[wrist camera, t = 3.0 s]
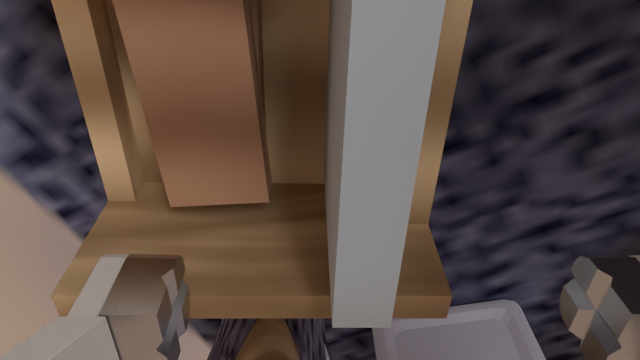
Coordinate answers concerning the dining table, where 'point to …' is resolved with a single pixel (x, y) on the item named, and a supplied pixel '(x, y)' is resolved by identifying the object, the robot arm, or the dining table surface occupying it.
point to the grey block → (374, 146)
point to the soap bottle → (461, 335)
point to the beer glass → (271, 339)
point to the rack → (285, 164)
